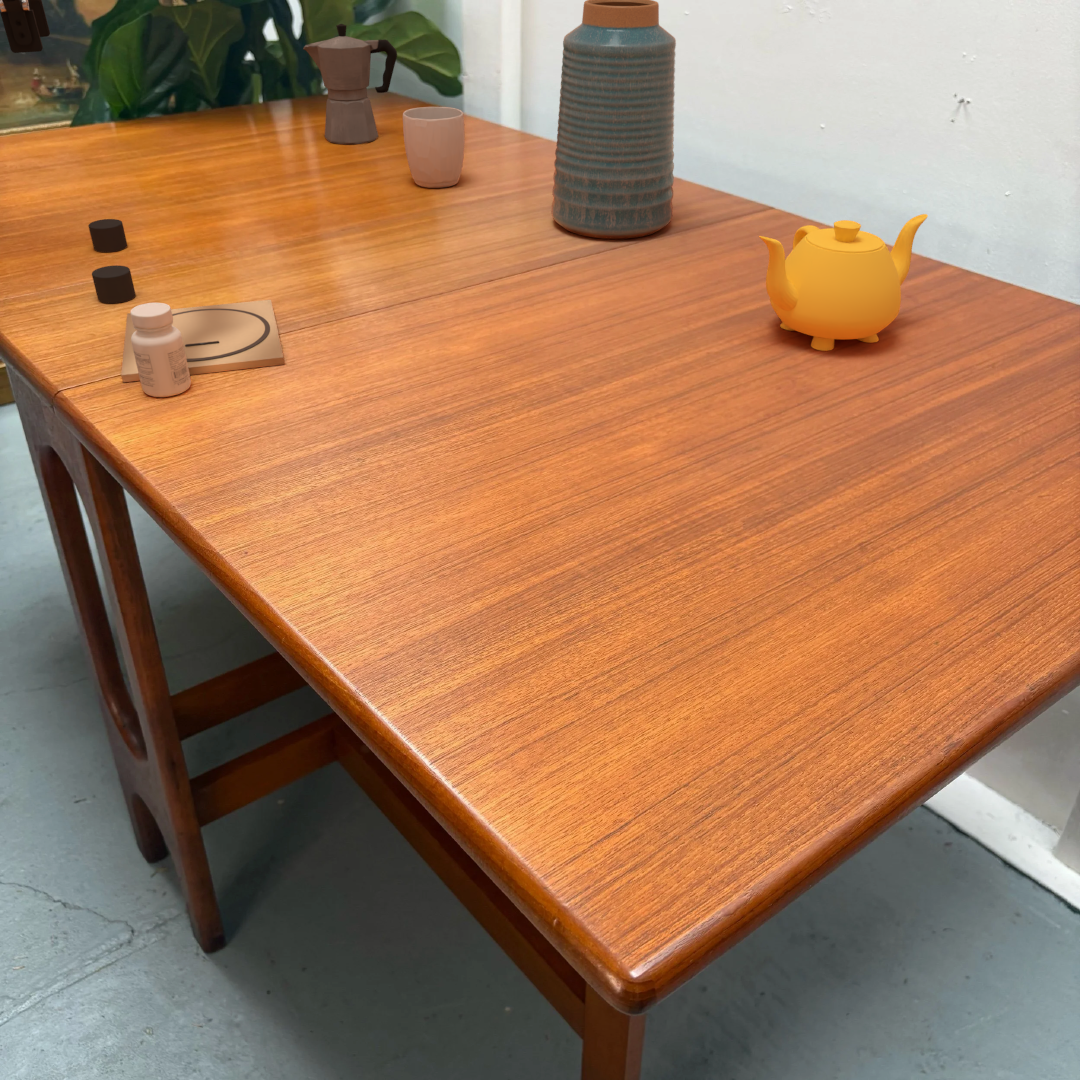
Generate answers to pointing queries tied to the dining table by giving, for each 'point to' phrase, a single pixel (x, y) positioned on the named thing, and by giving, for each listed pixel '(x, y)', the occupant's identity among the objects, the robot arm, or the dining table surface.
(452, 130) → the mug
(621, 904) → the dining table surface
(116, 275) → the dot
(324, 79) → the coffeepot
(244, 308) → the board
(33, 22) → the robot arm
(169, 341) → the pill bottle
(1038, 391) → the dining table surface
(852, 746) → the dining table surface
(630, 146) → the vase
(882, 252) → the teapot
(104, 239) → the dot
